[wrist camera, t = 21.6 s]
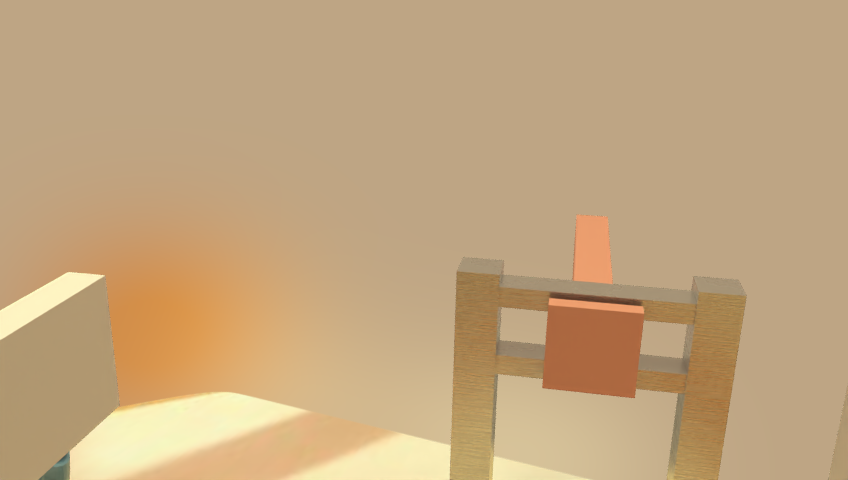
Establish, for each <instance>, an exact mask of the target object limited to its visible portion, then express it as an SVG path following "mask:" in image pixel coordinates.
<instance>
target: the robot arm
mask: <svg viewBox="0 0 848 480" xmlns="http://www.w3.org/2000/svg"><path fill="white" fill-rule="evenodd" d="M119 405H120V403H119V394H118V385H117V376H116V367H115V358H114V350H113V341H112V332H111V323H110V314H109V306H108V296H107V287H106V279H105V276H104V275H95V274H84V273H73V272H68V273H66V274H64V275H62V276H61V277H59V278H57V279H55V280H54V281H52V282H50V283H48V284H46V285H45V286H43V287H41V288H39V289H38V290H36V291H34V292H32V293H31V294H29V295H27V296H25V297H23V298H22V299H20V300H18V301H16V302H15V303H13V304H11V305H9V306H8V307H6V308H4V309H2V310H0V480H70V455H69V451H70V450H71V449H72V448H73V447H75V446H76V445H77V444H78V443H79V442H80V441H81V440H82V439H83V438H84V437H85V436H87V435H88V434H89V433H90V432H91V431H92V430H93V429H94V428H95V427H96V426H98V425H99V424H100V423H101V422H102V421H103V420H104V419H105V418H106V417H107V416H108V415H110V414H111V413H112V412H113V411H114V410H115V409H116V408H117V407H118V406H119ZM828 480H848V386H847V392H846V396H845V401H844V405H843V410H842V415H841V420H840V425H839V430H838V434H837V439H836V444H835V449H834V454H833V459H832V464H831V468H830V473H829V478H828Z"/></svg>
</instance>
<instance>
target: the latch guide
mask: <svg viewBox="0 0 848 480" xmlns="http://www.w3.org/2000/svg"><path fill="white" fill-rule="evenodd" d="M503 267H504V261H502V260H490V259H478V258H465V257H463V259H462V261H461V263H460V265H459V267H458V270H457V280H456V281H457V282H456V310H455V340H454V370H453V400H452V428H451V429H452V430H451V458H450V480H492V475H493V457H494V438H495V419H496V418H495V417H496V399H497V380H498V374H503V375H512V376H522V377H531V378H541V379H543V372H544V359H545V345H541V344H530V343H521V342H511V341H501V340H500V325H501V307H506V308H517V309H527V310H538V311H548V304H549V298H554V299H565V300H577V301H588V302H599V303H610V304H621V305H633V306H643V309H644V320H647V321H658V322H668V323H679V324H687V329H686V337H685V344H684V352H683V359H682V358H672V357H661V356H652V355H642V354H640V356H639V365H638V374H637V383H636V389H643V390H652V391H662V392H671V393H678V397H677V405H676V413H675V420H674V427H673V435H672V442H671V450H670V458H669V465H668V473H667V480H718V476H719V469H720V463H721V457H722V449H723V444H724V437H725V431H726V424H727V418H728V412H729V405H730V399H731V393H732V386H733V380H734V373H735V367H736V361H737V354H738V348H739V341H740V334H741V328H742V322H743V316H744V309H745V303H746V294H745V292H744V290H743V288H742V286H741V284H740V282H739V280H734V279H722V278H721V279H720V278H710V277H697V276H694V277H693V284H692V291H687V290H676V289H664V288H653V287H642V286H630V285H618V284H607V283H595V282H583V281H570V280H559V279H547V278H536V277H524V276H512V275H503Z"/></svg>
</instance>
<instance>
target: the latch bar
mask: <svg viewBox="0 0 848 480" xmlns="http://www.w3.org/2000/svg"><path fill="white" fill-rule="evenodd" d="M611 268H612V267H611V255H610V242H609V230H608V217H603V216H589V215H577V220H576V232H575V244H574V263H573V281H583V282H595V283H607V284H613V280H612V269H611ZM643 321H644V309H643V306H633V305H621V304H610V303H599V302H588V301H577V300H565V299H554V298H549V304H548V319H547V332H546V345H545V359H544V372H543V386H542V387H543V388H547V389H556V390H566V391H574V392H584V393H592V394H601V395H611V396H620V397H629V398H635V391H636V383H637V374H638V365H639V356H640V347H641V338H642V330H643Z"/></svg>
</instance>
